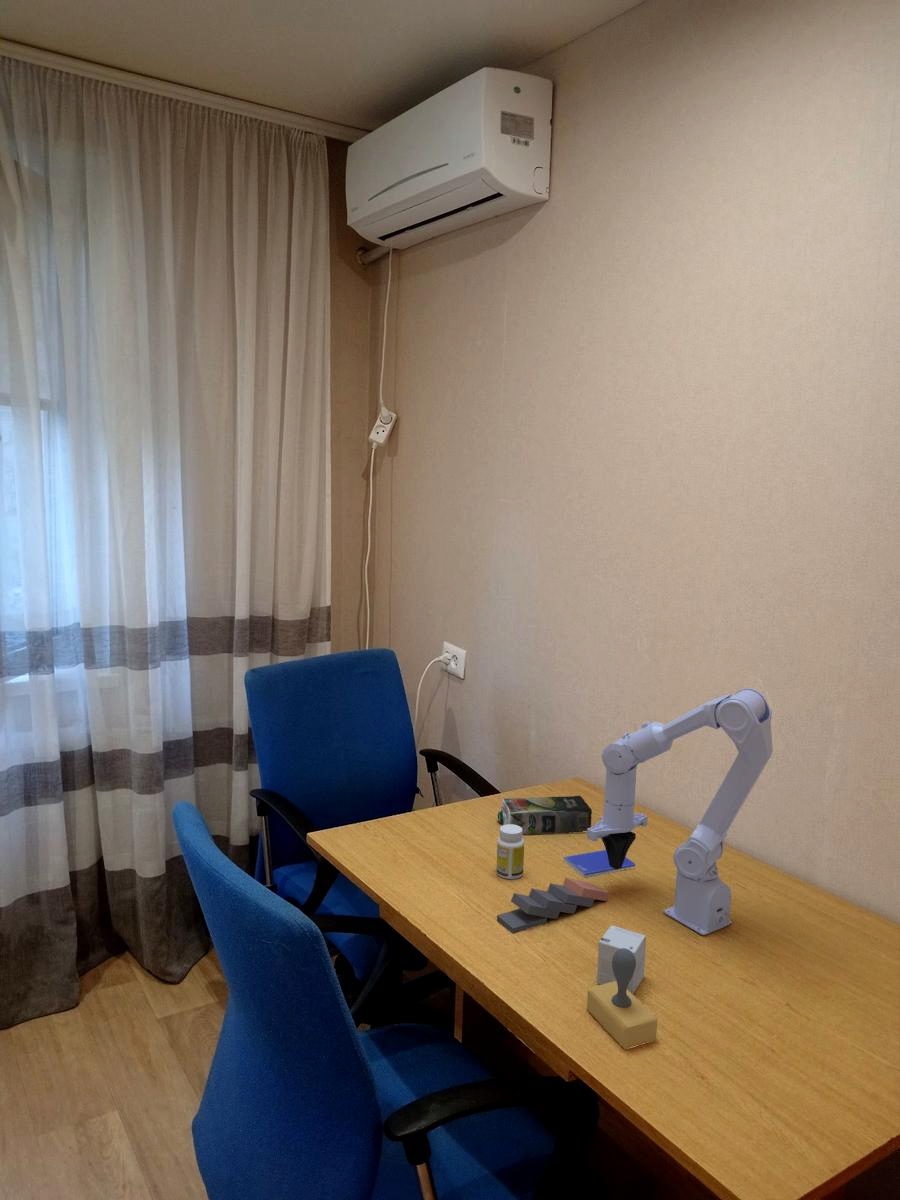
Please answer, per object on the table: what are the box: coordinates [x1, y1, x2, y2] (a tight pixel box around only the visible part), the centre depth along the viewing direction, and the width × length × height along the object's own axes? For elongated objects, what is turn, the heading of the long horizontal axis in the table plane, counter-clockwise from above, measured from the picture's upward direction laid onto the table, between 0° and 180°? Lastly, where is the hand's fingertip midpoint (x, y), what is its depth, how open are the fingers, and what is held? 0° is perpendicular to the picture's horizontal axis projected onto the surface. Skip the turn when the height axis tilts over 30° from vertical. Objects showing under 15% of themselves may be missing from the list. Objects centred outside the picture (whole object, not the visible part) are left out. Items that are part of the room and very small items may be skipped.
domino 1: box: [510, 892, 560, 920], centre depth 154 cm, size 2×5×8 cm
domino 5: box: [562, 877, 610, 902], centre depth 160 cm, size 2×5×8 cm
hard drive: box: [562, 849, 636, 879], centre depth 176 cm, size 2×8×12 cm
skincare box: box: [596, 925, 647, 995], centre depth 135 cm, size 6×6×7 cm
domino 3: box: [528, 888, 578, 915], centre depth 155 cm, size 2×5×8 cm
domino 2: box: [496, 907, 548, 935], centre depth 152 cm, size 2×5×8 cm
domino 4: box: [547, 882, 596, 908], centre depth 158 cm, size 2×5×8 cm
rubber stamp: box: [586, 948, 658, 1050], centre depth 124 cm, size 10×6×12 cm, turn 24°
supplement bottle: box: [495, 824, 525, 880], centre depth 170 cm, size 6×5×10 cm
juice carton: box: [497, 795, 593, 836], centre depth 194 cm, size 20×10×6 cm, turn 99°
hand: (615, 867), depth 164 cm, fingers closed
